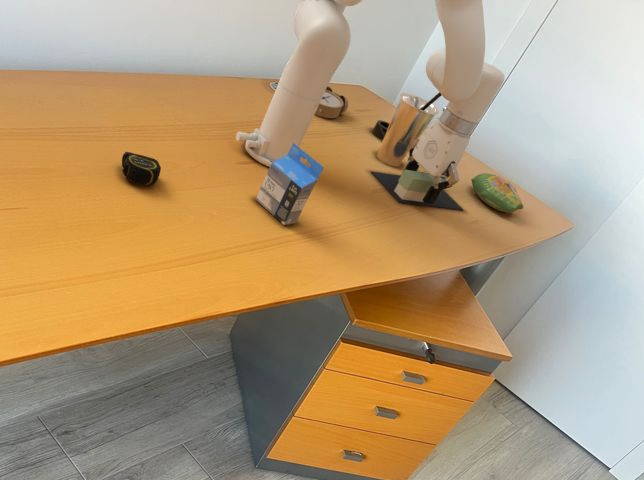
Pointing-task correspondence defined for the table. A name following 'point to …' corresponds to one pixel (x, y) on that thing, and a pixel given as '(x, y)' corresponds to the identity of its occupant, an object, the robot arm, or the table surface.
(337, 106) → the alarm clock
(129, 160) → the tape measure
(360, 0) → the robot arm
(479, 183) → the educational model
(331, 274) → the table surface
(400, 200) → the desk mat
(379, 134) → the duct tape
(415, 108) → the metal cup with straw
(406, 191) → the green and beige block
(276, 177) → the ink cartridge box
